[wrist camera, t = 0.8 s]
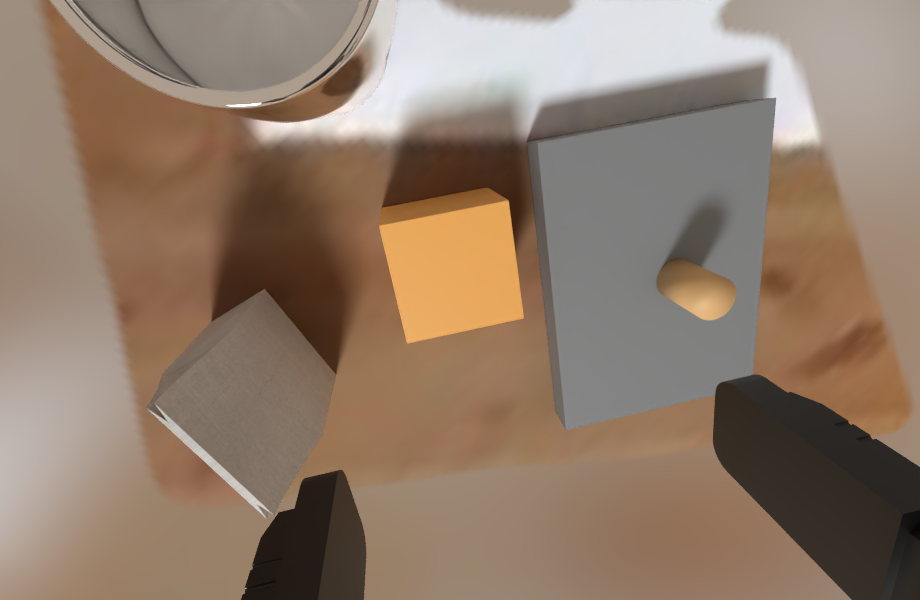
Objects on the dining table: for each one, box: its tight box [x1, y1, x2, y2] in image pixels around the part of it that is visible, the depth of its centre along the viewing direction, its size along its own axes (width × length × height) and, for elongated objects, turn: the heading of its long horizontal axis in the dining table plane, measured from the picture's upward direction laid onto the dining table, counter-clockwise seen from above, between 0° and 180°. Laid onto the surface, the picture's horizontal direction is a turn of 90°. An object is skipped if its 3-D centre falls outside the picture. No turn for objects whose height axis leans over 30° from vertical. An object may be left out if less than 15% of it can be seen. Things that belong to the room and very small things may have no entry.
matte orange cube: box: [379, 187, 524, 343], centre depth 24 cm, size 6×6×5 cm
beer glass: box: [49, 0, 398, 123], centre depth 15 cm, size 7×7×15 cm
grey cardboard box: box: [146, 289, 336, 519], centre depth 22 cm, size 4×7×10 cm, turn 30°
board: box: [527, 98, 776, 430], centre depth 26 cm, size 18×13×6 cm
